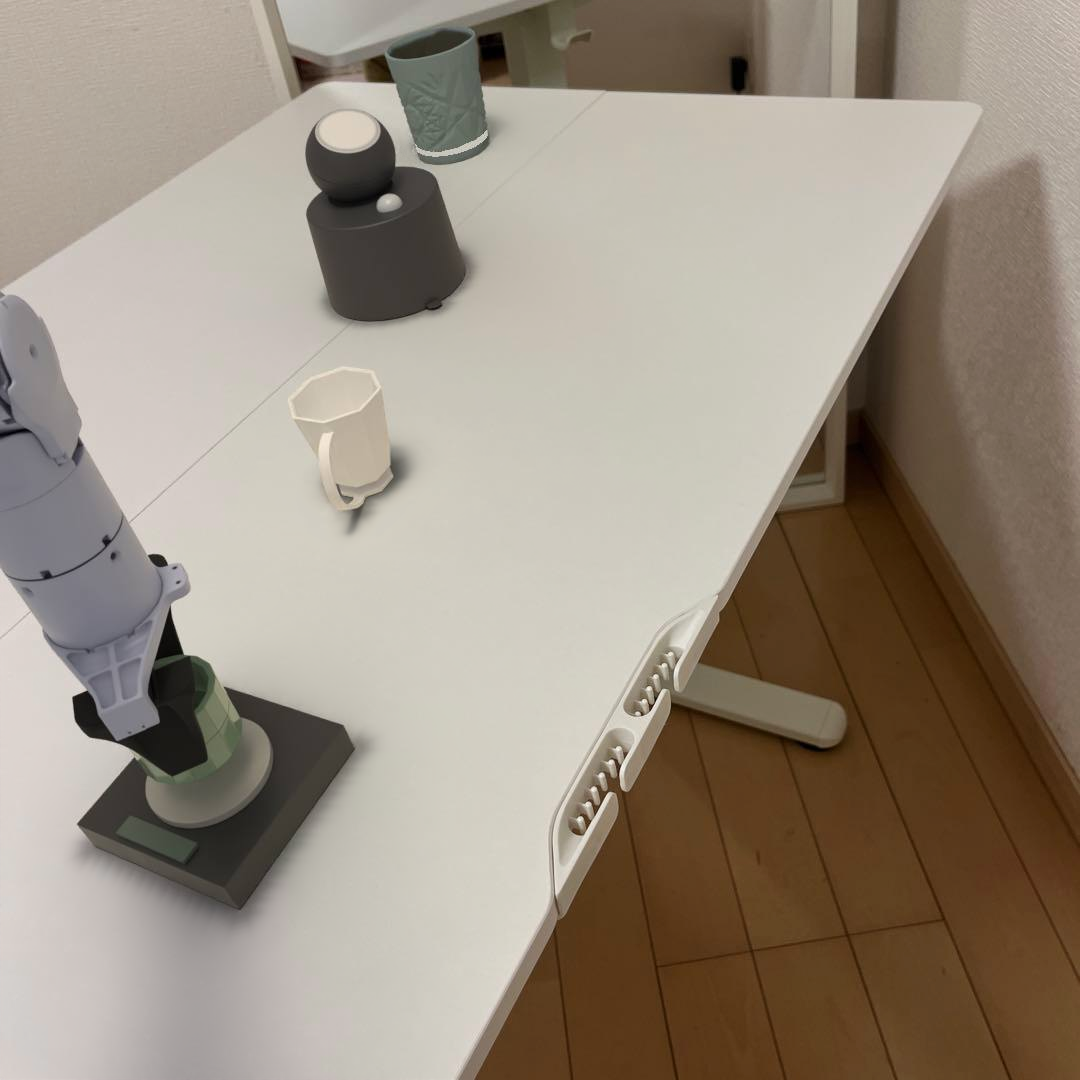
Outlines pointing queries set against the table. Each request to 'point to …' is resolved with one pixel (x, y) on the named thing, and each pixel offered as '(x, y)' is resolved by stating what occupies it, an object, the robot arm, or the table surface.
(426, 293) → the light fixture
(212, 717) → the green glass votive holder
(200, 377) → the table surface
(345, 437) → the cup
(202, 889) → the scale
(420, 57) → the green embossed plant pot
